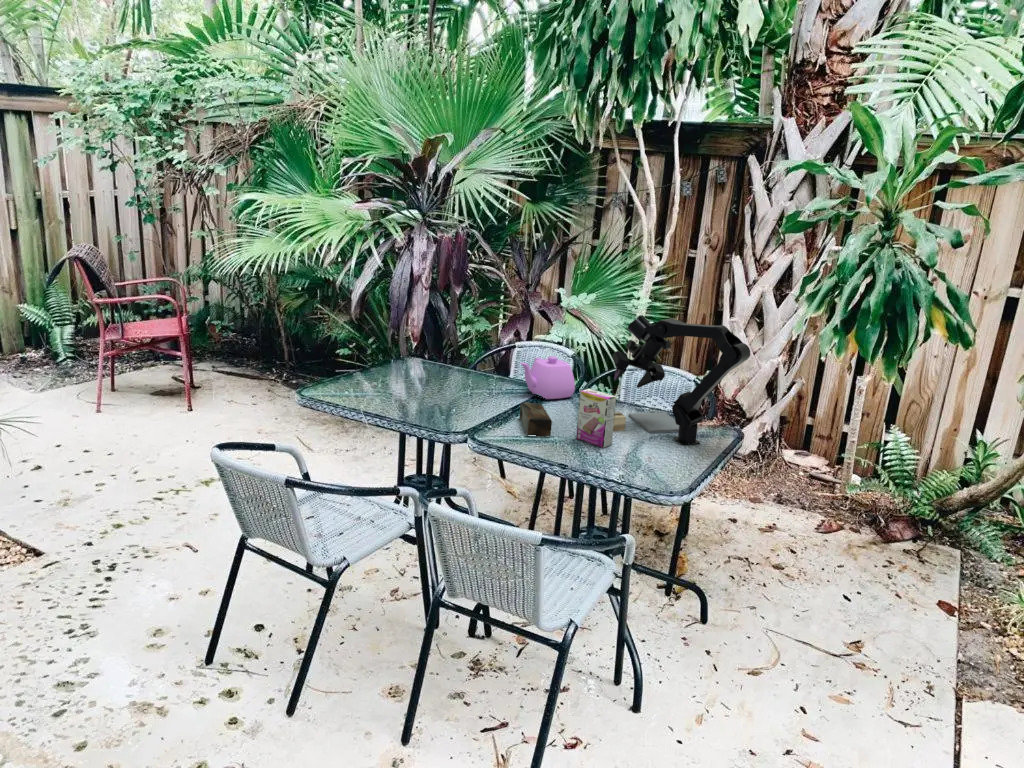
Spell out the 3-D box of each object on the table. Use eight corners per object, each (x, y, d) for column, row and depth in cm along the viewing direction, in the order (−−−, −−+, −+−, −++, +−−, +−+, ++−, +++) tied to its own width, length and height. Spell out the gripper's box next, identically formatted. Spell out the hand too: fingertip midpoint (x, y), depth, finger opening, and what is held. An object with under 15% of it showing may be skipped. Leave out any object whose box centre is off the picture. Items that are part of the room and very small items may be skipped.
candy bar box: (575, 439, 243) (578, 390, 239) (584, 436, 247) (588, 387, 242) (603, 449, 236) (607, 398, 232) (612, 445, 240) (617, 395, 235)
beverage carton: (541, 419, 262) (542, 401, 260) (551, 438, 244) (552, 419, 242) (518, 419, 261) (519, 400, 259) (527, 438, 243) (528, 418, 241)
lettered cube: (624, 430, 254) (625, 416, 253) (610, 431, 253) (611, 417, 251) (618, 426, 259) (620, 411, 257) (605, 426, 257) (606, 412, 256)
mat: (687, 431, 256) (687, 428, 256) (649, 433, 253) (649, 430, 252) (664, 414, 273) (664, 412, 273) (628, 416, 269) (628, 413, 269)
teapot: (552, 384, 305) (554, 348, 301) (580, 399, 287) (583, 360, 283) (501, 389, 294) (503, 352, 290) (528, 405, 276) (530, 365, 272)
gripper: (667, 342, 259) (643, 375, 268) (621, 327, 252) (598, 361, 261) (676, 363, 251) (650, 396, 259) (628, 348, 244) (604, 382, 253)
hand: (626, 383), depth 258 cm, fingers open, 9 cm apart
